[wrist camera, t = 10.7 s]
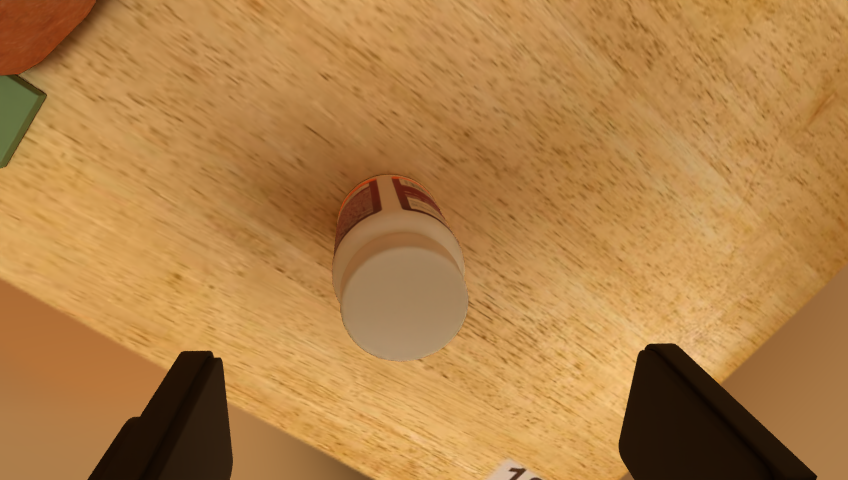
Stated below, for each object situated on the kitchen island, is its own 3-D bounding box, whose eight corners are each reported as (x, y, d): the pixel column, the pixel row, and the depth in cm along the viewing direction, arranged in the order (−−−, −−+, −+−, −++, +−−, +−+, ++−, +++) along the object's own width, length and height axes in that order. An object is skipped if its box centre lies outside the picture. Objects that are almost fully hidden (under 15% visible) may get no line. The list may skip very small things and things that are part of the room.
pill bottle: (348, 278, 24) (343, 385, 16) (328, 181, 22) (311, 249, 14) (446, 261, 24) (487, 358, 16) (433, 164, 23) (473, 222, 15)
